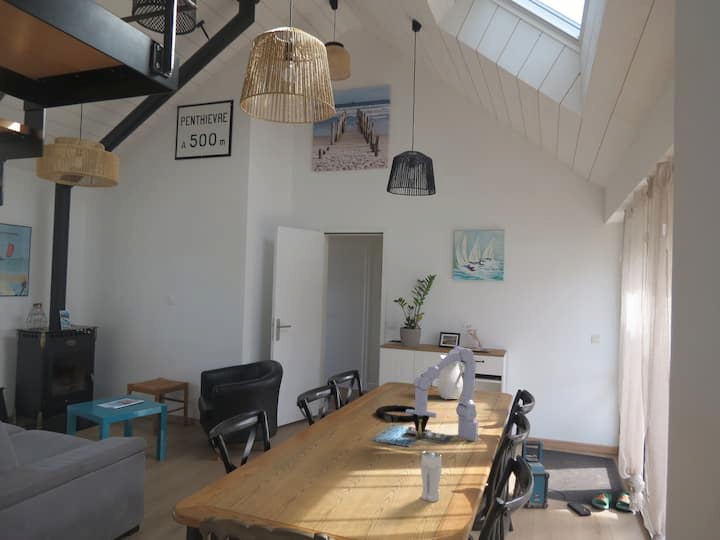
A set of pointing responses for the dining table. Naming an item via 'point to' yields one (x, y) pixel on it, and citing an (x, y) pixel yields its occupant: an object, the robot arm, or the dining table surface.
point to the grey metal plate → (427, 434)
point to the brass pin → (420, 429)
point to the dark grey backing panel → (413, 436)
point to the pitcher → (450, 380)
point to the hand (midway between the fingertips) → (420, 431)
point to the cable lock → (395, 418)
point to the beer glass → (430, 475)
